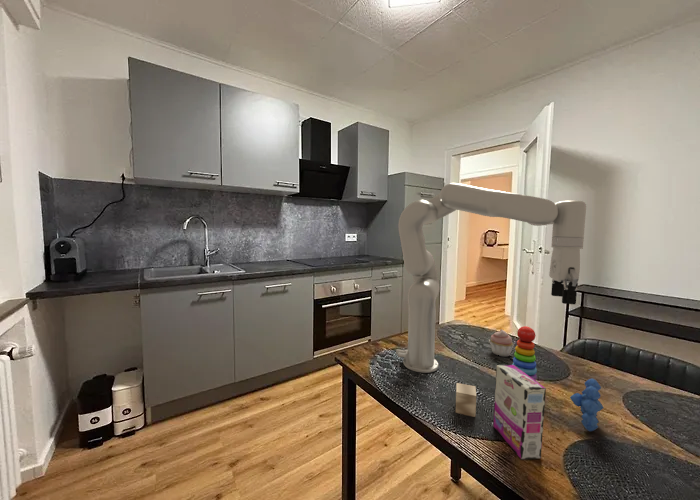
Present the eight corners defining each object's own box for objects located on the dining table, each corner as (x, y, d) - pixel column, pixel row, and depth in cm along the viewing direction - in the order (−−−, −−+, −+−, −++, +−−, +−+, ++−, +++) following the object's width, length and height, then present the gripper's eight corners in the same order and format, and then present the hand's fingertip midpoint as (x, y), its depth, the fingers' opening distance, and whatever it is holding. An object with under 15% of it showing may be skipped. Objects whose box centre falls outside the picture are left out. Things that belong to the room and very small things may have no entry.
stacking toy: (541, 390, 90) (545, 332, 89) (513, 387, 92) (517, 330, 90) (531, 377, 98) (534, 324, 97) (505, 375, 100) (508, 322, 98)
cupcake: (492, 346, 124) (493, 323, 123) (516, 353, 117) (518, 329, 116) (484, 353, 117) (485, 329, 116) (509, 361, 110) (511, 335, 110)
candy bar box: (542, 459, 64) (547, 388, 62) (521, 460, 63) (525, 389, 62) (510, 424, 75) (514, 363, 73) (492, 425, 74) (495, 364, 73)
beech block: (455, 412, 79) (456, 392, 79) (455, 402, 84) (456, 382, 84) (475, 417, 78) (476, 395, 77) (474, 406, 82) (475, 386, 82)
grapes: (570, 408, 82) (573, 367, 81) (601, 418, 77) (605, 375, 76) (566, 429, 73) (569, 384, 72) (601, 442, 69) (605, 394, 68)
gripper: (543, 241, 95) (540, 292, 96) (562, 244, 79) (557, 305, 80) (571, 242, 92) (567, 294, 94) (595, 245, 76) (590, 308, 78)
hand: (562, 299), depth 87 cm, fingers open, 9 cm apart
